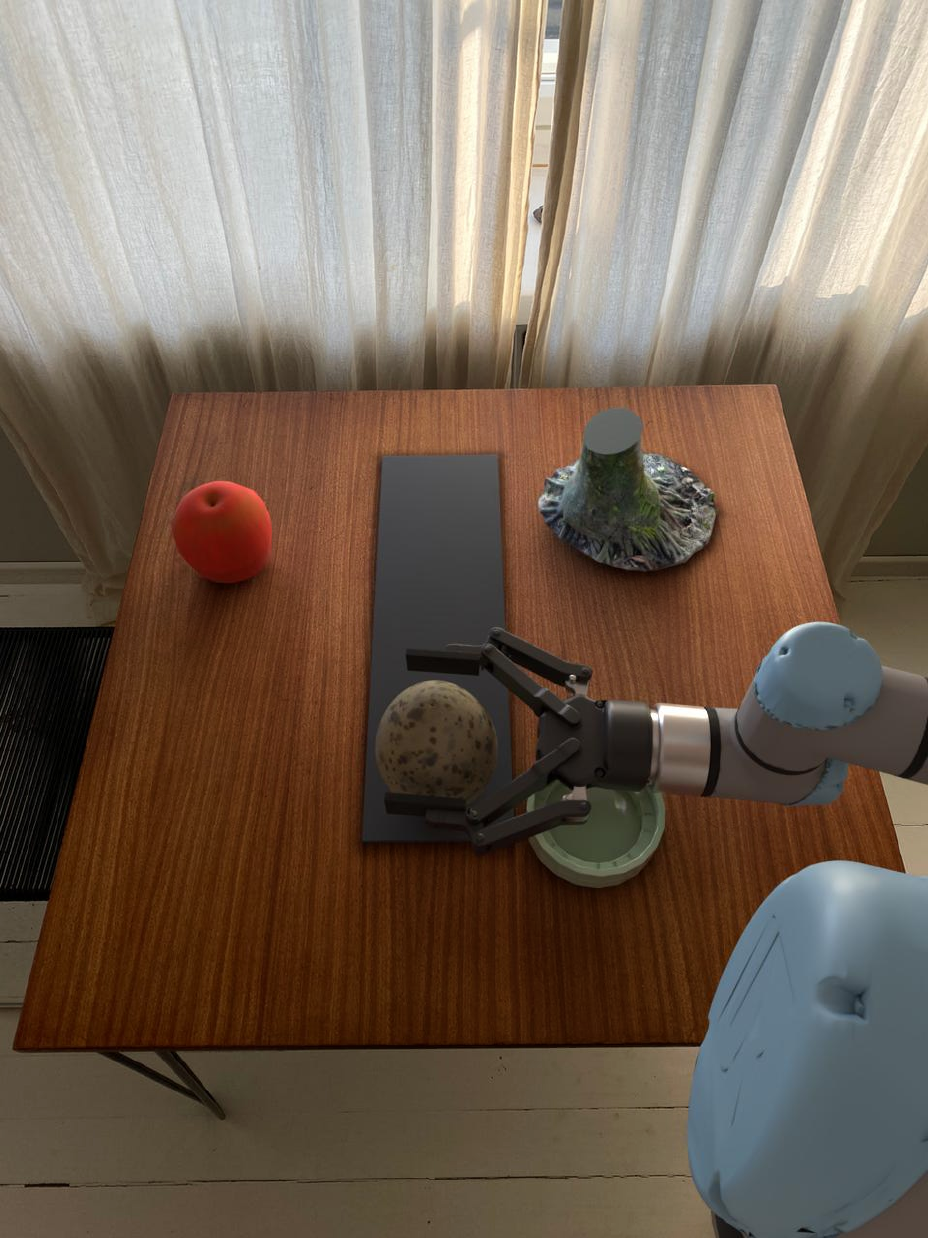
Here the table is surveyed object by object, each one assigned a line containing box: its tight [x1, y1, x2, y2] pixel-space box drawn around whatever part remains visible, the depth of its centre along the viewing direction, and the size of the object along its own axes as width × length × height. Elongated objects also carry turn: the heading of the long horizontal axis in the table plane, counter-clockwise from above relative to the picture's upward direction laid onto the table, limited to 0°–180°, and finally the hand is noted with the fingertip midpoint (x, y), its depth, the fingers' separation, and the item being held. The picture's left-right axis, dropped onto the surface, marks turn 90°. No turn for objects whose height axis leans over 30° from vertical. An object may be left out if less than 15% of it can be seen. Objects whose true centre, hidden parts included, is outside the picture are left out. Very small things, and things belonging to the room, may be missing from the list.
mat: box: [361, 454, 515, 844], centre depth 93 cm, size 48×14×1 cm, turn 1°
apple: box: [170, 480, 273, 584], centre depth 93 cm, size 10×10×12 cm
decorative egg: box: [376, 680, 498, 805], centre depth 76 cm, size 11×11×15 cm
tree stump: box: [537, 406, 718, 573], centre depth 95 cm, size 18×20×18 cm
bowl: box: [525, 780, 666, 889], centre depth 79 cm, size 12×12×4 cm
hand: (396, 727), depth 74 cm, fingers open, 13 cm apart
